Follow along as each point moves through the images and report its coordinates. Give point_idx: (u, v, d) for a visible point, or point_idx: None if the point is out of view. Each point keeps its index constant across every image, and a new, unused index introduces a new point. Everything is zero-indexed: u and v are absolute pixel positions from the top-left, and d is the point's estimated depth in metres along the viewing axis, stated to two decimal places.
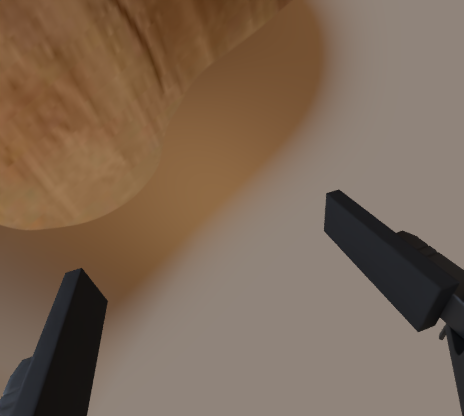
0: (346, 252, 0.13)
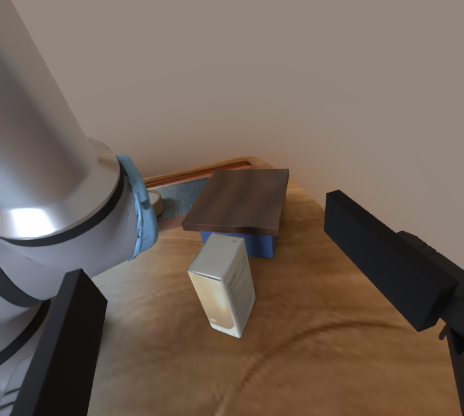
0: (346, 252, 0.13)
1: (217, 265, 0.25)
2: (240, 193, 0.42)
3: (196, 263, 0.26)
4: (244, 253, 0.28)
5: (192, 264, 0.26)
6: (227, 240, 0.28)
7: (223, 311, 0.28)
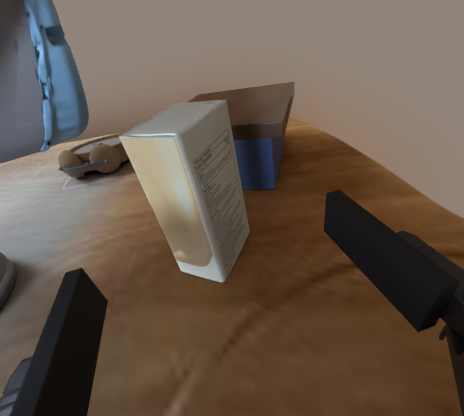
0: (346, 252, 0.13)
1: (174, 123, 0.14)
2: (228, 104, 0.31)
3: (138, 127, 0.14)
4: (227, 129, 0.17)
5: (131, 130, 0.14)
6: (197, 103, 0.16)
7: (191, 226, 0.16)
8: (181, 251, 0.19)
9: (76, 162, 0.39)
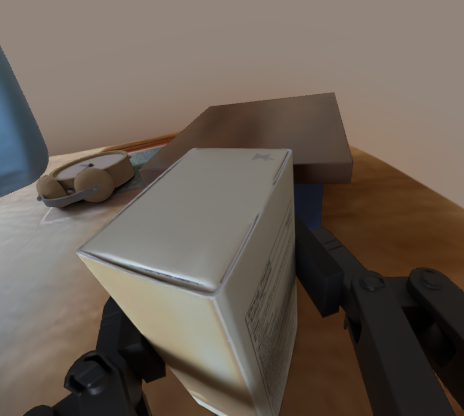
0: None
1: (201, 226, 0.06)
2: (254, 124, 0.23)
3: (121, 223, 0.07)
4: (290, 201, 0.09)
5: (105, 228, 0.07)
6: (237, 156, 0.09)
7: (227, 391, 0.08)
8: (201, 395, 0.11)
9: (58, 190, 0.32)
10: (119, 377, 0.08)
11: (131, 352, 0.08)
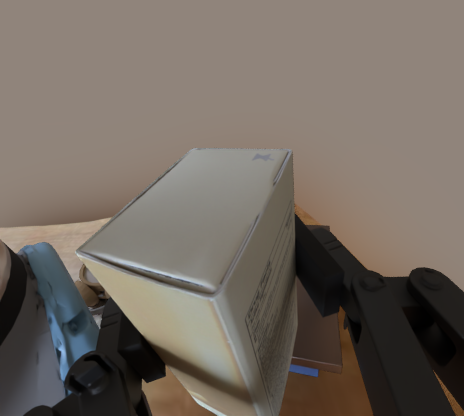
0: None
1: (200, 227, 0.06)
2: None
3: (121, 223, 0.07)
4: (290, 201, 0.09)
5: (105, 229, 0.07)
6: (237, 157, 0.09)
7: (227, 392, 0.08)
8: (201, 395, 0.11)
9: (91, 296, 0.36)
10: (119, 377, 0.08)
11: (131, 352, 0.08)
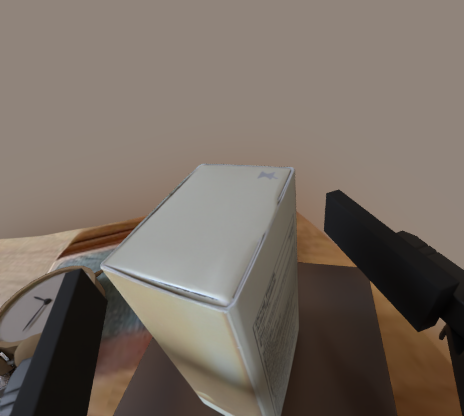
0: (346, 252, 0.13)
1: (213, 244, 0.07)
2: None
3: (139, 238, 0.07)
4: (293, 215, 0.10)
5: (125, 244, 0.07)
6: (243, 174, 0.09)
7: (233, 392, 0.09)
8: (208, 395, 0.12)
9: None
10: None
11: None
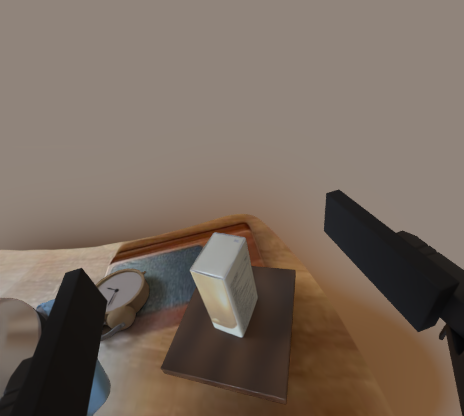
0: (346, 252, 0.13)
1: (219, 264, 0.26)
2: None
3: (199, 262, 0.26)
4: (246, 252, 0.29)
5: (195, 264, 0.26)
6: (229, 239, 0.28)
7: (226, 310, 0.28)
8: (217, 319, 0.31)
9: None
10: None
11: None
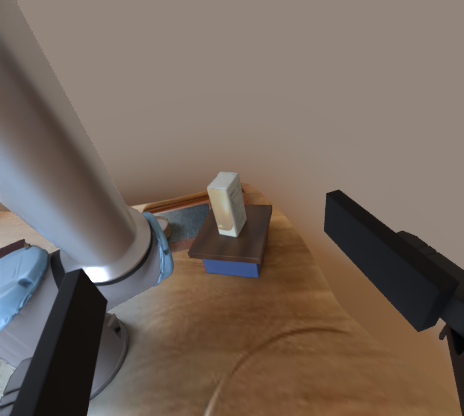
0: (346, 252, 0.13)
1: (223, 184, 0.46)
2: None
3: (211, 184, 0.47)
4: (238, 182, 0.49)
5: (209, 185, 0.47)
6: (228, 174, 0.48)
7: (227, 215, 0.48)
8: (221, 225, 0.51)
9: None
10: None
11: None
